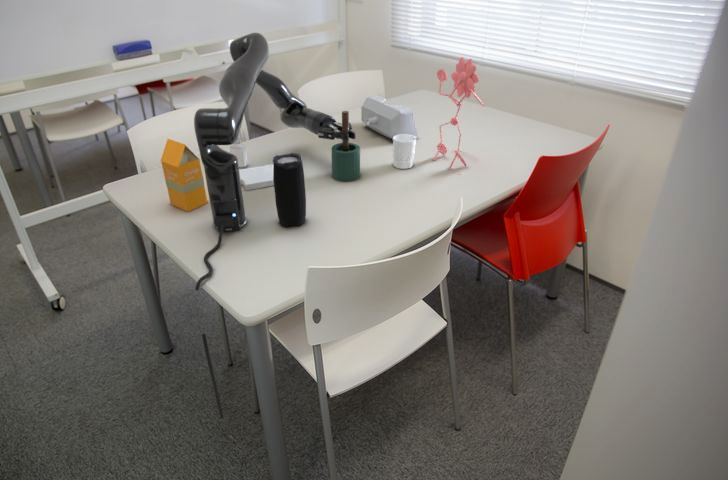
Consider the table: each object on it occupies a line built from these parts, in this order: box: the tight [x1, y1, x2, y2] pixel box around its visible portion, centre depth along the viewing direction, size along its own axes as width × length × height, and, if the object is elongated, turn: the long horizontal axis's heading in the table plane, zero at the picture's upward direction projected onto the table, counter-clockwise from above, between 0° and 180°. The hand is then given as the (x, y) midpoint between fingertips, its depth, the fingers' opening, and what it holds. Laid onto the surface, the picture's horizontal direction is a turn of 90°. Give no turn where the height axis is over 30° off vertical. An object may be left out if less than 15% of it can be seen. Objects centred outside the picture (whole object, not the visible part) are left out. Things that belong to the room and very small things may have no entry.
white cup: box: [392, 134, 417, 170], centre depth 177 cm, size 8×8×10 cm
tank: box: [360, 94, 419, 141], centre depth 204 cm, size 25×16×12 cm, turn 29°
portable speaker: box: [272, 152, 307, 228], centre depth 142 cm, size 9×9×20 cm
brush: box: [341, 110, 351, 151], centre depth 167 cm, size 4×4×18 cm
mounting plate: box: [239, 163, 274, 191], centre depth 172 cm, size 18×13×2 cm
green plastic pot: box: [331, 142, 361, 182], centre depth 171 cm, size 9×9×10 cm
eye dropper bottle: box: [229, 135, 248, 169], centre depth 180 cm, size 4×6×12 cm
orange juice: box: [160, 138, 208, 212], centre depth 153 cm, size 8×9×20 cm
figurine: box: [433, 56, 486, 176], centre depth 173 cm, size 15×26×35 cm, turn 26°
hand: (351, 137), depth 164 cm, fingers closed on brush, 2 cm apart
